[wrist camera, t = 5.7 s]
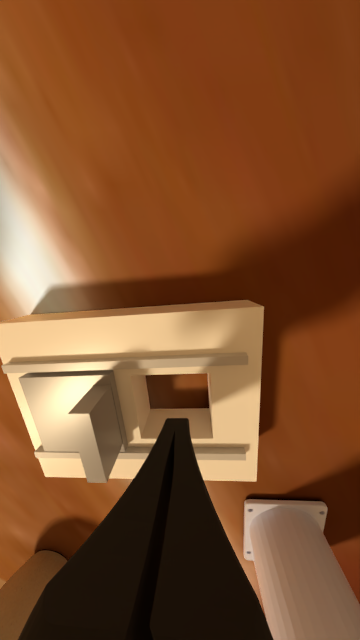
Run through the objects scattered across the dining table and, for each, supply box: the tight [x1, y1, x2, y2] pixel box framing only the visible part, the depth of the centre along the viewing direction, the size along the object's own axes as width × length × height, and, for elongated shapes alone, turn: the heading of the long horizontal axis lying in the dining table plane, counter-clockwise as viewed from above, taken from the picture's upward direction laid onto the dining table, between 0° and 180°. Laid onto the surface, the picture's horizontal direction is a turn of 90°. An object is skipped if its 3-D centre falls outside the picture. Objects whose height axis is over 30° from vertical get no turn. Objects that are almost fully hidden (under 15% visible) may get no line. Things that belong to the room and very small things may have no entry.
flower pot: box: [0, 550, 67, 640], centre depth 20 cm, size 10×10×7 cm
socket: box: [0, 300, 264, 481], centre depth 14 cm, size 14×18×4 cm
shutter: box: [18, 370, 128, 483], centre depth 11 cm, size 6×6×3 cm
